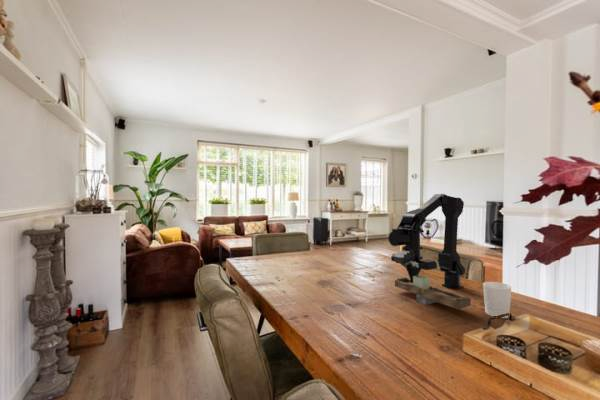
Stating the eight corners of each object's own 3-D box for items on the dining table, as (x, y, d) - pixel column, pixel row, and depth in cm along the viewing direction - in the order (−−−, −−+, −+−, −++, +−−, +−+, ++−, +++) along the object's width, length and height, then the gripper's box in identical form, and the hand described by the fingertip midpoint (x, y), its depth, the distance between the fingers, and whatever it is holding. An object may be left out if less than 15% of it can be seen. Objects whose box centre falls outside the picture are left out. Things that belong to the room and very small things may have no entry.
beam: (393, 292, 118) (393, 279, 118) (408, 289, 122) (408, 276, 122) (455, 317, 93) (455, 300, 93) (472, 312, 97) (472, 296, 97)
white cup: (516, 320, 91) (516, 289, 91) (489, 318, 92) (489, 288, 92) (504, 310, 98) (503, 282, 98) (479, 308, 100) (479, 281, 100)
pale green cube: (413, 287, 112) (413, 276, 112) (420, 285, 114) (420, 274, 114) (422, 290, 108) (422, 278, 108) (429, 288, 110) (429, 277, 110)
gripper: (381, 242, 119) (381, 278, 119) (417, 249, 103) (417, 291, 103) (400, 240, 124) (401, 275, 124) (437, 246, 107) (438, 287, 108)
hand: (412, 281), depth 115 cm, fingers closed
